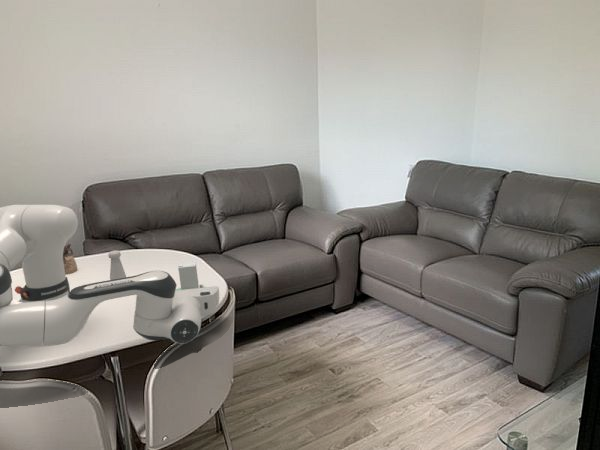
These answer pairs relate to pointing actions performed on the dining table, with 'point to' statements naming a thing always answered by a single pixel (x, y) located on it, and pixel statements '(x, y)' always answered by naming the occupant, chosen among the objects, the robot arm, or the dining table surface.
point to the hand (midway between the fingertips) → (187, 288)
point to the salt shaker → (116, 266)
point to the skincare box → (188, 276)
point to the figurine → (69, 260)
